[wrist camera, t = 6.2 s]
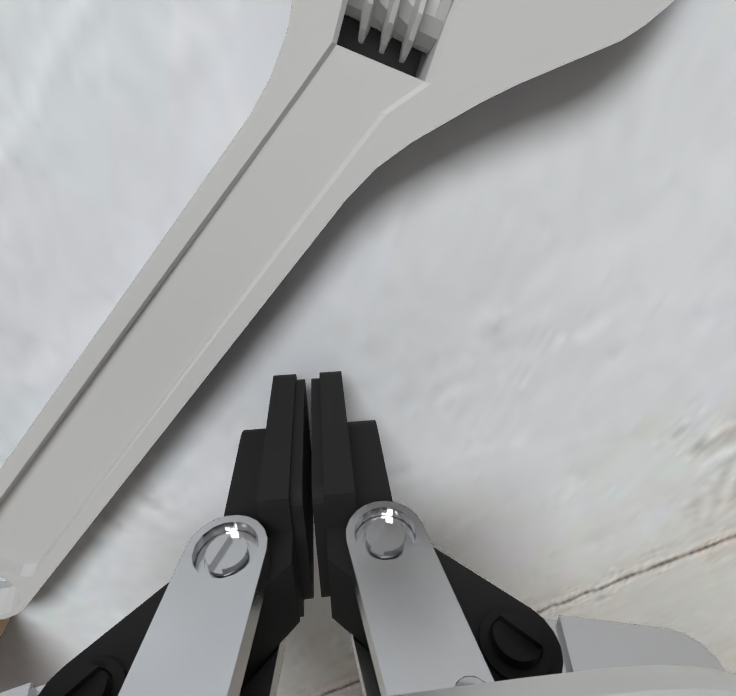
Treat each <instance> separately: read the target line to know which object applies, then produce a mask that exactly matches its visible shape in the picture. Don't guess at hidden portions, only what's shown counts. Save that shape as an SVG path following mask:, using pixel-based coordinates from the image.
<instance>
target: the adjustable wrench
mask: <svg viewBox="0 0 736 696" xmlns="http://www.w3.org/2000/svg"><path fill="white" fill-rule="evenodd" d="M673 1H674V0H293V1H292V7H291V13H290V19H289V25H288V29H287V33H286V36H285V39H284V42H283V44H282V47H281V50H280V53H279V55H278V58H277V61H276V64H275V66H274V69H273V72H272V75H271V77H270V79H269V81H268V83H267V85H266V87H265V88H264V90H263V92H262V94H261V96H260V98H259V100H258V101H257V103H256V105H255V107H254V109H253V111H252V112H251V114H250V116H249V118H248V119H247V120H246V122H245V123H244V125H243V126H242V128H241V129H240V130H239V132H238V133H237V135H236V136H235V137H234V139H233V140H232V142H231V143H230V145H229V146H228V147H227V149H226V150H225V152H224V153H223V154H222V156H221V157H220V159H219V160H218V162H217V163H216V164H215V166H214V167H213V169H212V170H211V171H210V173H209V174H208V176H207V177H206V179H205V180H204V181H203V183H202V184H201V186H200V187H199V188H198V190H197V191H196V193H195V194H194V196H193V197H192V198H191V200H190V201H189V203H188V204H187V205H186V207H185V208H184V210H183V211H182V213H181V214H180V215H179V217H178V218H177V220H176V221H175V223H174V224H173V225H172V227H171V228H170V230H169V231H168V232H167V234H166V235H165V237H164V238H163V240H162V241H161V242H160V244H159V245H158V247H157V248H156V249H155V251H154V252H153V254H152V255H151V257H150V258H149V259H148V261H147V262H146V264H145V265H144V266H143V268H142V269H141V271H140V272H139V274H138V275H137V276H136V278H135V279H134V281H133V282H132V283H131V285H130V286H129V288H128V289H127V291H126V292H125V293H124V295H123V296H122V298H121V299H120V300H119V302H118V303H117V305H116V306H115V308H114V309H113V310H112V312H111V313H110V315H109V316H108V317H107V319H106V320H105V322H104V323H103V325H102V326H101V327H100V329H99V330H98V332H97V333H96V335H95V336H94V337H93V339H92V340H91V342H90V343H89V344H88V346H87V347H86V349H85V350H84V352H83V353H82V354H81V356H80V357H79V359H78V360H77V361H76V363H75V364H74V366H73V367H72V369H71V370H70V371H69V373H68V374H67V376H66V377H65V378H64V380H63V381H62V383H61V384H60V386H59V387H58V388H57V390H56V391H55V393H54V394H53V395H52V397H51V398H50V400H49V401H48V403H47V404H46V405H45V407H44V408H43V410H42V411H41V412H40V414H39V415H38V417H37V418H36V420H35V421H34V422H33V424H32V425H31V427H30V428H29V429H28V431H27V432H26V434H25V435H24V437H23V438H22V439H21V441H20V442H19V444H18V445H17V447H16V448H15V449H14V451H13V452H12V454H11V455H10V456H9V458H8V459H7V461H6V462H5V464H4V465H3V466H2V468H1V469H0V577H2V578H4V579H6V580H7V581H0V619H6V618H9V617H11V616H14V615H17V614H18V613H19V612H21V611H22V610H23V609H24V608H25V607H26V606H27V605H28V603H29V602H30V601H31V600H32V598H33V597H34V596H35V594H36V593H37V592H38V591H39V589H40V588H41V587H42V586H43V584H44V583H45V582H46V580H47V579H48V578H49V577H50V575H51V574H52V573H53V572H54V570H55V569H56V568H57V567H58V565H59V564H60V563H61V561H62V560H63V559H64V558H65V556H66V555H67V554H68V553H69V551H70V550H71V549H72V547H73V546H74V545H75V544H76V542H77V541H78V540H79V539H80V537H81V536H82V535H83V533H84V532H85V531H86V530H87V528H88V527H89V526H90V525H91V523H92V522H93V521H94V519H95V518H96V517H97V516H98V514H99V513H100V512H101V511H102V509H103V508H104V507H105V505H106V504H107V503H108V502H109V500H110V499H111V498H112V497H113V495H114V494H115V493H116V491H117V490H118V489H119V488H120V486H121V485H122V484H123V483H124V481H125V480H126V479H127V478H128V476H129V475H130V474H131V472H132V471H133V470H134V469H135V467H136V466H137V465H138V464H139V462H140V461H141V460H142V458H143V457H144V456H145V455H146V453H147V452H148V451H149V450H150V448H151V447H152V446H153V444H154V443H155V442H156V441H157V439H158V438H159V437H160V436H161V434H162V433H163V432H164V430H165V429H166V428H167V427H168V425H169V424H170V423H171V422H172V420H173V419H174V418H175V416H176V415H177V414H178V413H179V411H180V410H181V409H182V408H183V406H184V405H185V404H186V402H187V401H188V400H189V399H190V397H191V396H192V395H193V394H194V392H195V391H196V390H197V388H198V387H199V386H200V385H201V383H202V382H203V381H204V380H205V378H206V377H207V376H208V375H209V373H210V372H211V371H212V369H213V368H214V367H215V366H216V364H217V363H218V362H219V361H220V359H221V358H222V357H223V355H224V354H225V353H226V352H227V350H228V349H229V348H230V347H231V345H232V344H233V343H234V341H235V340H236V339H237V338H238V336H239V335H240V334H241V333H242V331H243V330H244V329H245V327H246V326H247V325H248V324H249V322H250V321H251V320H252V319H253V317H254V316H255V315H256V313H257V312H258V311H259V310H260V308H261V307H262V306H263V305H264V303H265V302H266V301H267V299H268V298H269V297H270V296H271V294H272V293H273V292H274V291H275V289H276V288H277V287H278V286H279V284H280V283H281V282H282V280H283V279H284V278H285V277H286V275H287V274H288V273H289V272H290V270H291V269H292V268H293V266H294V265H295V264H296V263H297V261H298V260H299V259H300V258H301V256H302V255H303V254H304V252H305V251H306V250H307V249H308V247H309V246H310V245H311V244H312V242H313V241H314V240H315V238H316V237H317V236H318V235H319V233H320V232H321V231H322V230H323V228H324V227H325V226H326V224H327V223H328V222H329V221H330V219H331V218H332V217H333V216H334V214H335V213H336V212H337V210H338V209H339V208H340V207H341V205H342V204H343V203H344V202H345V200H346V199H347V198H348V197H349V196H350V195H351V194H352V193H353V192H354V191H355V190H356V189H357V188H358V187H359V186H360V185H361V184H362V183H363V182H364V181H365V179H366V178H367V177H368V176H369V175H370V174H371V173H372V172H373V171H374V170H375V169H376V168H378V167H379V166H380V165H382V164H383V163H384V162H386V161H387V160H388V159H390V158H391V157H393V156H394V155H395V154H397V153H398V152H399V151H401V150H402V149H403V148H405V147H406V146H408V145H409V144H410V143H412V142H413V141H415V140H417V139H418V138H420V137H422V136H424V135H425V134H427V133H429V132H431V131H432V130H434V129H436V128H438V127H439V126H441V125H443V124H445V123H446V122H448V121H450V120H451V119H453V118H455V117H457V116H458V115H460V114H462V113H464V112H465V111H467V110H469V109H471V108H472V107H474V106H476V105H478V104H479V103H481V102H483V101H485V100H487V99H489V98H492V97H494V96H496V95H498V94H500V93H502V92H504V91H506V90H508V89H510V88H512V87H514V86H516V85H518V84H520V83H522V82H525V81H527V80H530V79H532V78H534V77H537V76H539V75H541V74H544V73H546V72H549V71H551V70H553V69H556V68H558V67H560V66H563V65H565V64H567V63H570V62H572V61H575V60H577V59H579V58H582V57H584V56H586V55H589V54H591V53H594V52H596V51H598V50H601V49H603V48H605V47H608V46H610V45H613V44H615V43H617V42H620V41H622V40H623V39H625V38H626V37H628V36H629V35H631V34H632V33H634V32H635V31H637V30H638V29H640V28H642V27H643V26H645V25H646V24H647V23H648V22H650V21H651V20H652V19H653V18H654V17H656V16H657V15H658V14H659V13H660V12H662V11H663V10H664V9H665V8H666V7H668V6H669V5H670V4H671V3H672V2H673ZM344 14H345V15H347V16H349V17H351V18H353V19H355V20H357V21H359V22H360V28H359V36H358V42H359V43H361V44H363V42H364V40H365V39H366V37H367V35H368V33H369V31H370V29H371V27H372V28H375V29H377V30H379V31H381V32H382V33H381V40H380V47H379V53H382V54H383V53H384V51H385V49H386V48H387V46H388V44H389V42H390V40H391V38H392V37H393V38H395V39H397V40H399V41H401V42H402V46H401V51H400V56H399V62H400V63H402V64H403V63H404V61H405V60H406V58H407V56H408V54H409V52H410V50H411V48H412V47H413V48H416V49H418V50H420V51H422V52H423V54H422V57H421V60H420V63H419V66H418V69H417V72H416V75H415V77H413V76H410V75H408V74H406V73H403V72H401V71H398V70H396V69H394V68H391V67H389V66H387V65H384V64H382V63H379V62H377V61H375V60H372V59H370V58H367V57H365V56H363V55H360V54H358V53H356V52H353V51H351V50H348V49H346V48H344V47H341V46H339V45H337V41H338V37H339V33H340V29H341V26H342V22H343V18H344Z"/></svg>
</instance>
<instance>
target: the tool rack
mask: <svg viewBox="0 0 736 696" xmlns="http://www.w3.org/2000/svg"><path fill="white" fill-rule="evenodd" d="M10 619H11V617H9V618H6V619H0V637H1V635H2V634H3V632H4V630H5V628H6V627H7V625H8V623H9V622H10Z"/></svg>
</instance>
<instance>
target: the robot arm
mask: <svg viewBox="0 0 736 696" xmlns="http://www.w3.org/2000/svg"><path fill="white" fill-rule="evenodd" d="M311 405H312V451H311V440H310V429H309V418H308V407H307V396H306V385H305V379H303V380H297V377H296V374H292V375H277V376H274V377H273V383H272V390H271V397H270V404H269V412H268V419H267V426H266V429H254V430H244V431H243V432H242V435H241V439H240V443H239V448H238V453H237V457H236V462H235V467H234V471H233V476H232V481H231V486H230V490H229V495H228V500H227V504H226V509H225V514H224V517H222V518H219V519H216V520H213V521H212V522H210V523H208V524H207V525H205V526H203V527H202V528H201V529H200V530H199V531H198V532H197V533H196V534H194V535H193V536H192V538H191V539H190V541H189V543H188V544H187V546H186V547H185V550H184V552H183V554H182V556H181V558H180V561H179V563H178V565H177V567H176V569H175V572H174V574H173V576H172V578H171V580H170V582H169V583H167V584H166V585H165V586H164V587H163V588H161V589H160V590H159V591H158V592H156V593H155V594H154V595H153V596H151V597H150V598H149V599H148V600H146V601H145V602H144V603H143V604H141V605H140V606H139V607H138V608H136V609H135V610H134V611H133V612H131V613H130V614H129V615H128V616H126V617H125V618H124V619H123V620H121V621H120V622H119V623H118V624H116V625H115V626H114V627H113V628H111V629H110V630H109V631H108V632H106V633H105V634H104V635H103V636H101V637H100V638H99V639H98V640H96V641H95V642H94V643H93V644H91V645H90V646H89V647H88V648H86V649H85V650H84V651H83V652H81V653H80V654H79V655H78V656H76V657H75V658H74V659H73V660H71V661H70V662H69V663H68V664H66V665H65V666H64V667H63V668H62V669H61V670H60V671H59V672H57V673H56V674H55V675H54V676H53V677H52V678H51V679H50V680H49V681H48V682H47V684H44V685H41V686H38V687H34V686H33V684H32V683H31V682H30V683H27V684H24V685H21V686H18V687H15V688H13V689H10V690H7V691H4V692H1V693H0V696H276V693H277V688H278V683H279V677H280V672H281V667H282V661H283V656H284V651H285V637H286V636H287V635H288V634H289V633H290V632H291V631H292V630H293V629H294V627H295V626H296V625H297V624H298V623H299V622H300V617H302V616H304V599H310V598H313V597H314V557H313V514H314V525H315V535H316V545H317V556H318V566H319V576H320V587H321V597H328V596H331V608H332V618H333V619H335V620H336V621H337V622H338V623H339V624H340V625H342V626H343V627H344V628H345V629H346V630H347V631H349V632H350V633H351V642H352V647H353V651H354V656H355V661H356V665H357V670H358V674H359V679H360V683H361V688H362V692H363V696H736V673H731V672H727V671H725V669H724V668H723V666H722V665H721V664H720V662H719V661H718V659H717V658H716V657H715V656H714V655H713V654H712V653H711V652H710V651H709V650H708V649H707V648H706V647H705V646H703V645H702V644H701V643H700V642H698V641H697V640H695V639H693V638H691V637H690V636H688V635H686V634H685V633H682V632H679V631H675V630H672V629H668V628H661V627H652V626H644V625H636V624H628V623H619V622H611V621H603V620H595V619H586V618H578V617H570V616H562V615H559V617H558V620H557V621H555V620H547V619H543V618H542V617H541V616H540V615H538V614H537V613H536V612H535V611H533V610H532V609H531V608H529V607H528V606H526V605H525V604H523V603H521V602H520V601H518V600H517V599H515V598H513V597H512V596H510V595H509V594H507V593H505V592H504V591H502V590H501V589H499V588H497V587H496V586H494V585H493V584H491V583H490V582H488V581H486V580H485V579H483V578H482V577H480V576H478V575H477V574H475V573H474V572H472V571H470V570H469V569H467V568H466V567H464V566H462V565H461V564H459V563H458V562H456V561H455V560H453V559H451V558H450V557H448V556H447V555H445V554H443V553H442V552H440V551H439V550H437V549H435V548H434V547H433V546H432V544H431V541H430V539H429V537H428V535H427V533H426V530H425V528H424V526H423V524H422V522H421V521H420V519H419V518H418V516H417V515H416V514H415V513H414V512H413V511H412V510H410V509H409V508H408V507H406V506H404V505H401V504H399V503H396V502H393V501H392V496H391V491H390V486H389V482H388V477H387V472H386V467H385V463H384V458H383V453H382V448H381V443H380V439H379V434H378V429H377V425H376V421H375V420H370V421H357V422H347V418H346V409H345V401H344V392H343V383H342V375H341V371H337V372H322V373H320V378H318V379H311Z"/></svg>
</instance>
